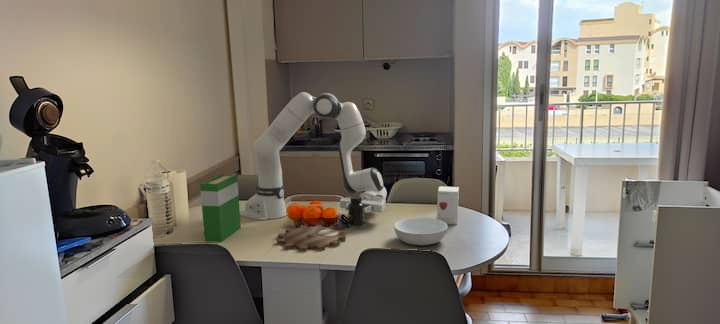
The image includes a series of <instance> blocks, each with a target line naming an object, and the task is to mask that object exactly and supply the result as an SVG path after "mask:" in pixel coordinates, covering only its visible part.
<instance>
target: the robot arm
mask: <svg viewBox="0 0 720 324" xmlns="http://www.w3.org/2000/svg"><path fill="white" fill-rule="evenodd" d="M337 97H338V96H336V95H335V94H333V93H331V92H330V93H329V92H325V93H320V94H319V95H317V96H313V95H311V94H310V93H308V92H306V91H302V92H299V93H298V94H296V96H294V97H293V98H292V99H291V100H290V101H289V102H288V103H287V104H286V105H285V107H283V109H282V110H281V111H280V112H279V113H278V114H277V116H276V117H275V118H274V120H273V121H272V122H271V124H270V125H269V126H268V128H267V129H266V130H265V131H264V132H263V133H262V134H261V136H259V137H258V138H257V139H256V140H255V141H254V143H253V144H254V145H253V151H254V154H255V155H254V157H255V162H256V163H255V164H256V167H257V177H258V185H257V186H256V187H255V188H253V189H254V190H253V191H256V192H255V194H253V195H252V196H251V197H250V198H249V199H248V200H246V202H245V205H244V210H242V211H240V217H245V218H249V219H255V220H259V221H266V220H274V219H281V218H283V217H285V216H287V215H288V213H287V214H286V210H287V207H286V204H285V197H284V196H285V189H284V184H283V169H282V164H281V157H280V151H281V150H282V149H283V148H284V146H285V145H286V144H287V143H288V142H289V140H290V139H291V138H292V137H293V136H294V135H295V134H296V132H297V131H298V130H299V129H300V128H301V127H302V125H303V124H304V123H305V122H306V121H307V120H308V118H309V117H310V116H312V115H313V114H316V115H317V116H318V117H319V118H323V119H336V121H337V123H338V126H339V129H340V132H341V133H340V134H341V138H340V140H339V142H338V152H339V160H340V166H341V171H342V185H343V187H344V188H343V189H344V190H345V191H346V192H348V193H349V194H350V195H351V194H352V195H355V194H357V193H360V192H362V193H361V194H359V195H358V196H360V197H362V202H361V203H363V204H364V208H363V212H364V213H367V212H370V213H371V212H372V213H377V214H378V213H383V212H384V211H386V207H387V206H386V205H387V204H386V203H387V195H388V192H387V188H386V187H385V186H384V184H385V182H384V178H383V175H382V173H381V172H380V171H379V170H378V169H377V168H376V167H369V168H365V169H362V170H357V171H354V169H353V164H352V163H353V162H352V157H351V154H352V152H353V150H354V149H355V148H356V147H357V146H358V145H360V144H361V143H362V142H363V140H364V139H365V137H366V134H367V132H366V127H365V122H364V119H363V118H362V115H361V112H360V110H359V108H358V106H357V105H356V104H355V103H354V102H352V101H345V102H340V101H339V99H338V98H337ZM351 197H352V196H347V197H344V198H341V199H340V200H339V208H340V209H344V210H345V211H348V205H349V204H350V203H351V202H350V200H351Z"/></svg>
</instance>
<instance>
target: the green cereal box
mask: <svg viewBox="0 0 720 324" xmlns="http://www.w3.org/2000/svg"><path fill="white" fill-rule="evenodd" d="M238 180H239V179H238V174H234V175H231V176H229V175H227V176H226V175H224V173H223V174H222V173H221V174H219V175H217V176H215V177H212V178H210V179H207V180H206V181H203V182H201V183H200V184H199V188H200V198H201V200H200V201H201V211H202V223H203V236H204V242H212V243H213V242H214V243H215V242H216V243H222V242H224V241H225V240H227V239H228V238H230V236H232V235H234V234H235V233H236V232H238V231H240V230H241V228H242V226H241V216H240V213H241V211H240V210H241V208H240V197H239V184H238V183H239V182H238Z"/></svg>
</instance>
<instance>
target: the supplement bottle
mask: <svg viewBox="0 0 720 324" xmlns="http://www.w3.org/2000/svg"><path fill="white" fill-rule="evenodd" d="M350 197H351V200H350V202H351V203H350V204H349V205H348V210H347V212H348V213H347V217H348V219H347V221H348V225H349V226H351V227H361V226H363V225H364V224H365V212H363V208H364V204H363V203H361V202H362V197H360V196H359V195H353V196H350Z"/></svg>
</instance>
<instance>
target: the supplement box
mask: <svg viewBox="0 0 720 324" xmlns="http://www.w3.org/2000/svg"><path fill="white" fill-rule="evenodd" d="M459 189H460V187H459V186H438V189H437V200H436V201H437V206H436V207H437V208H436V209H437V211H436V219H438V220H441V221H443V222H445V223H446V224H447V225H456V224H457V225H458V221H459V195H460V193H459V192H460V190H459Z"/></svg>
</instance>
